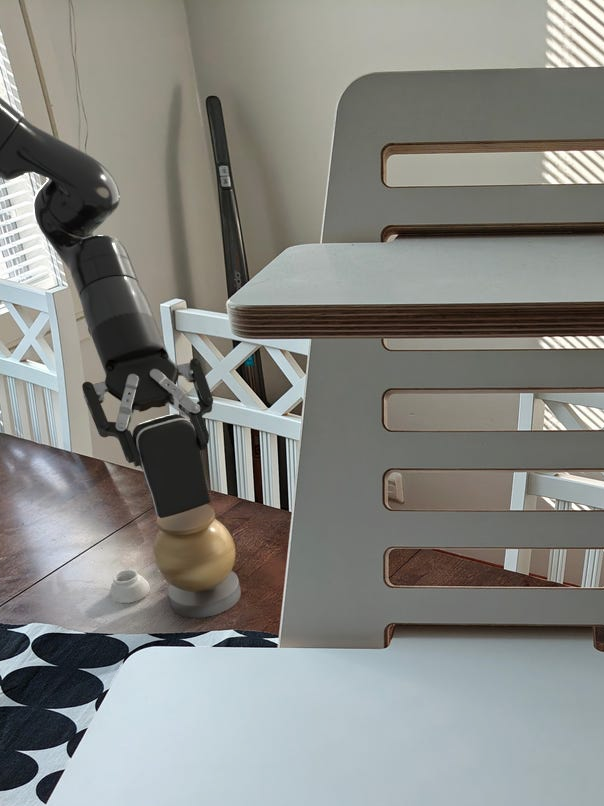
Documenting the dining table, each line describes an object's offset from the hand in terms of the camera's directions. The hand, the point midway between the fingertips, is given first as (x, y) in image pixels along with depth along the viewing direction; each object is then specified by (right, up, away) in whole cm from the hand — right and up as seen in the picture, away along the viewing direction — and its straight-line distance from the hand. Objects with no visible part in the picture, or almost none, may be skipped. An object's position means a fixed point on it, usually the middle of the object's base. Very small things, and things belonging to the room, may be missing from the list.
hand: (171, 455), depth 114 cm
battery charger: (-1, -5, +6) cm, 8 cm away
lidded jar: (0, -16, +14) cm, 21 cm away
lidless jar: (-10, -16, +15) cm, 24 cm away
